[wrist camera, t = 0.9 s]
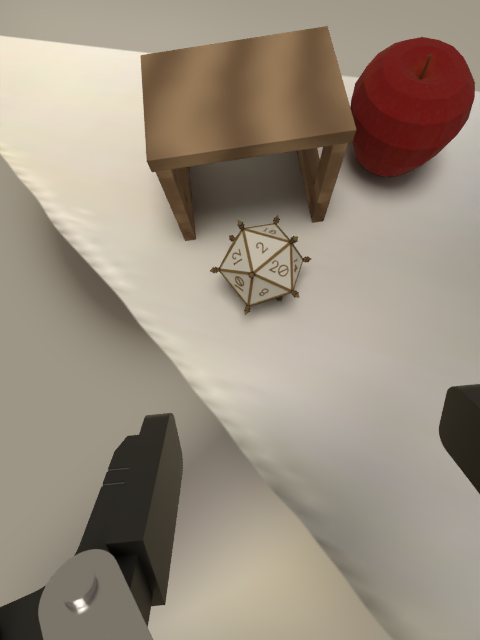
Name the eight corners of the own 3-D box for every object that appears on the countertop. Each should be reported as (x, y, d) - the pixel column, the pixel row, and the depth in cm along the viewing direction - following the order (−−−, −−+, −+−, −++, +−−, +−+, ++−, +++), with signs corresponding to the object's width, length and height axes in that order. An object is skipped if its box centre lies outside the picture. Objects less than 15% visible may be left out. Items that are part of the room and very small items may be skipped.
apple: (424, 207, 37) (497, 116, 25) (327, 188, 38) (355, 94, 27) (436, 128, 39) (506, 13, 28) (345, 113, 41) (378, -2, 29)
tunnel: (307, 140, 40) (327, 26, 28) (325, 220, 37) (356, 129, 25) (175, 160, 40) (140, 55, 28) (182, 241, 37) (146, 161, 25)
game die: (275, 283, 39) (342, 239, 31) (253, 341, 34) (326, 305, 27) (214, 234, 36) (271, 172, 29) (181, 290, 32) (239, 233, 24)
